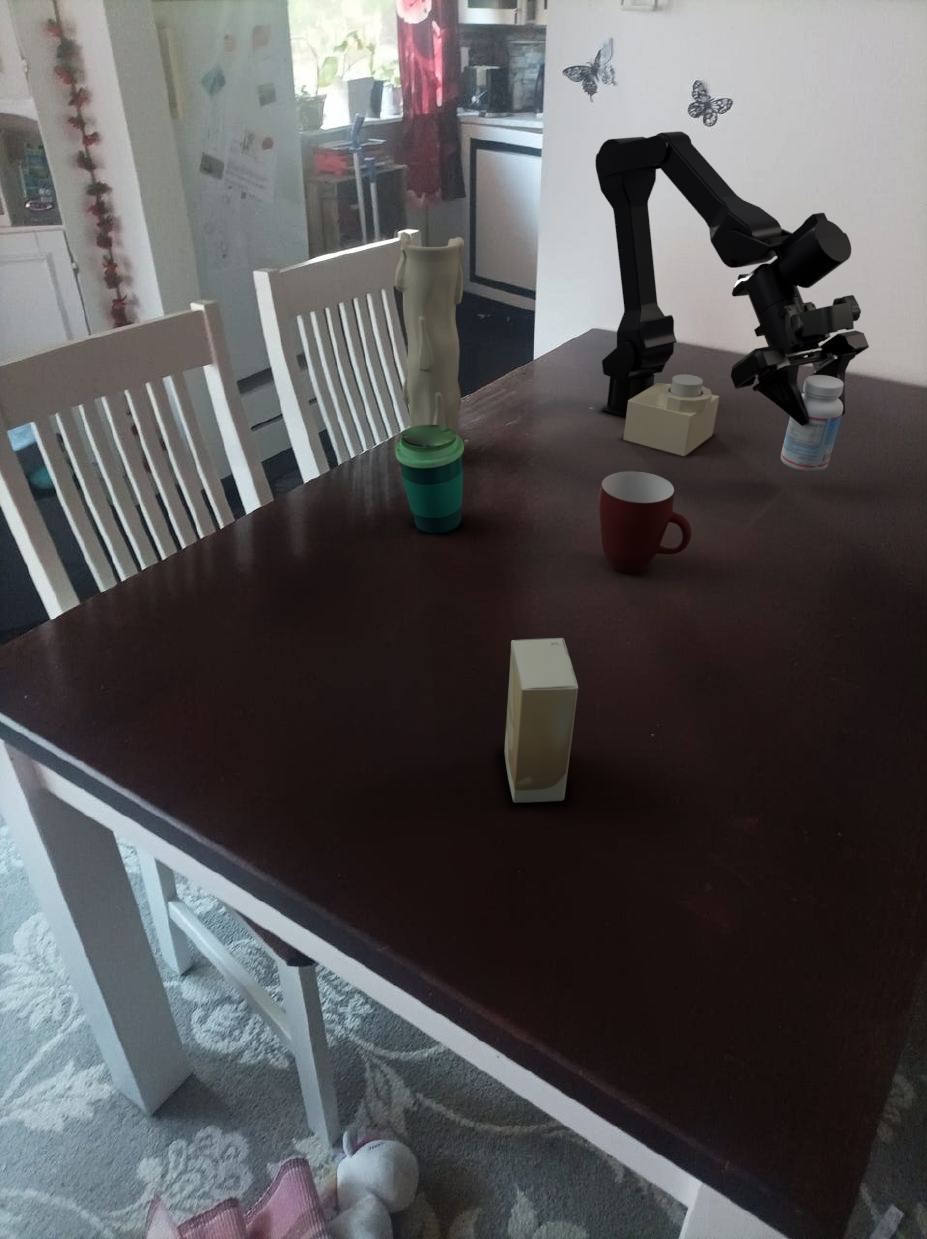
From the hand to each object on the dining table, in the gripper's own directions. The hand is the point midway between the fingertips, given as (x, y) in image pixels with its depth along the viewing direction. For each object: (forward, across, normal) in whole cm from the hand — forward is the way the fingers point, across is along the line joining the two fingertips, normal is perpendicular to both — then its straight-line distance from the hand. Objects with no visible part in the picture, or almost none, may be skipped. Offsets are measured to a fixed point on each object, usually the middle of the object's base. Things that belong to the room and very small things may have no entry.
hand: (823, 420), depth 110 cm
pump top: (-13, -4, +17) cm, 22 cm away
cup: (-3, -48, +18) cm, 52 cm away
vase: (-16, -38, +32) cm, 52 cm away
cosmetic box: (+27, -60, -12) cm, 67 cm away
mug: (+11, -32, +4) cm, 34 cm away
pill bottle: (+4, 0, +6) cm, 7 cm away
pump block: (-9, -4, +24) cm, 26 cm away
